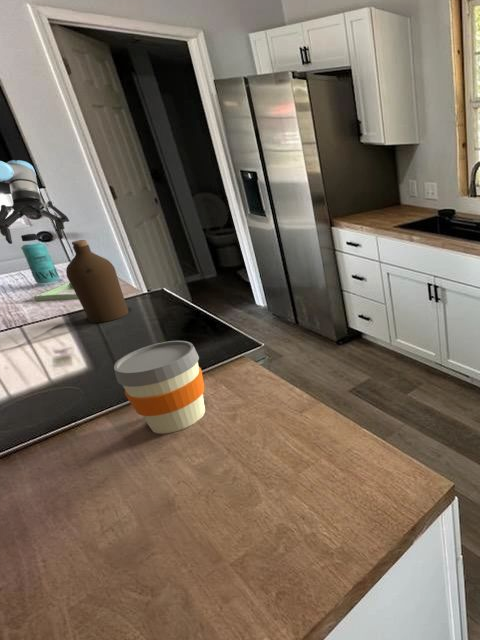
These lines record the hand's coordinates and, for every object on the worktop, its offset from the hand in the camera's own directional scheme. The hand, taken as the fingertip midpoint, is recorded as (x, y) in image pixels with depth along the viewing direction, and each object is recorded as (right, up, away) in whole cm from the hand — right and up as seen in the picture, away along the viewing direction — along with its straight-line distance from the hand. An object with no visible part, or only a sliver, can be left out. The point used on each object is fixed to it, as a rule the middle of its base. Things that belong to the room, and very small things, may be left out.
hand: (35, 238), depth 159 cm
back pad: (+25, -21, -9) cm, 34 cm away
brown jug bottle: (+56, -28, -27) cm, 68 cm away
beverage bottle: (+5, -18, +1) cm, 19 cm away
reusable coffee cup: (+116, -46, -74) cm, 145 cm away
